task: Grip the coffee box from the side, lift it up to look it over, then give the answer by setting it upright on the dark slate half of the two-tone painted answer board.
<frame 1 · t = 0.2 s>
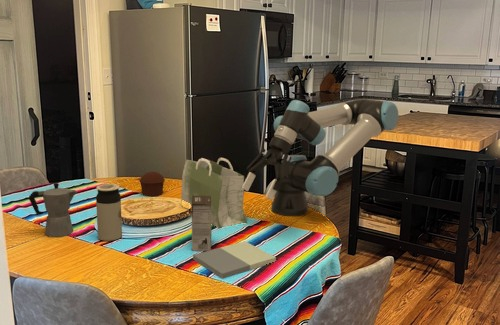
hand: (256, 193, 168), 15 cm above the table, tool tilted 35°, fingers open, 13 cm apart
coffeepot: (56, 233, 168), on the table
muffin: (152, 194, 217), on the table
grocery bag: (213, 215, 192), on the table
answer board: (234, 260, 149), on the table
coffee box: (201, 246, 160), on the table
travel mug: (110, 237, 165), on the table
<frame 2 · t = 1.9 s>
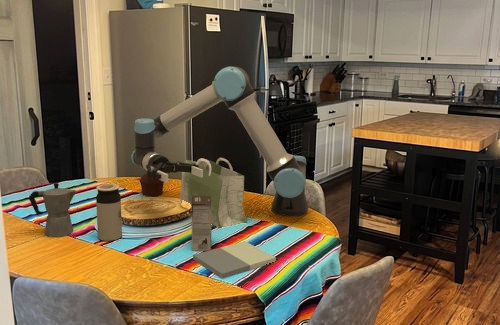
hand: (185, 176, 163), 22 cm above the table, tool horizontal, fingers open, 13 cm apart
nothing on the table moved.
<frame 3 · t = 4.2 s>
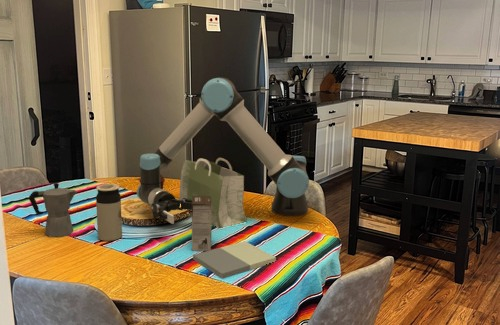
hand: (191, 216, 162), 9 cm above the table, tool horizontal, fingers open, 13 cm apart
nothing on the table moved.
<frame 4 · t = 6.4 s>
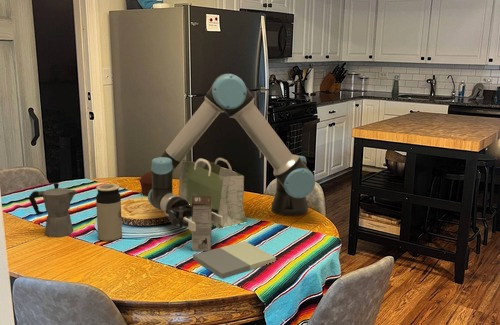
hand: (208, 224, 154), 9 cm above the table, tool horizontal, fingers closed on coffee box, 10 cm apart
coffee box: (201, 246, 160), on the table, touching gripper
everything else where it was.
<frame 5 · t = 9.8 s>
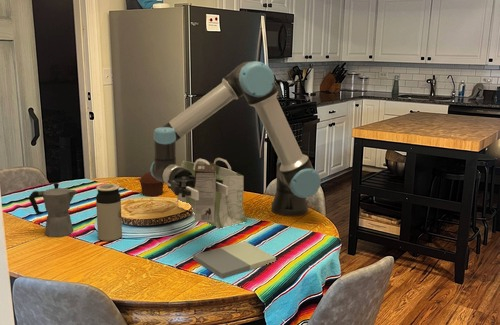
hand: (212, 193, 146), 21 cm above the table, tool horizontal, fingers closed on coffee box, 10 cm apart
coffee box: (205, 217, 151), point 12 cm above the table, touching gripper
when the fingers open (11 cm above the table, at t = 13.3 s): coffee box drops 1 cm, resting on answer board.
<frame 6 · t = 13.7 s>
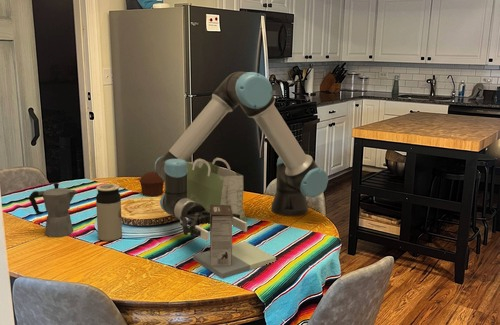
hand: (227, 231, 141), 11 cm above the table, tool horizontal, fingers open, 13 cm apart
coffee box: (220, 260, 145), point 1 cm above the table, touching answer board
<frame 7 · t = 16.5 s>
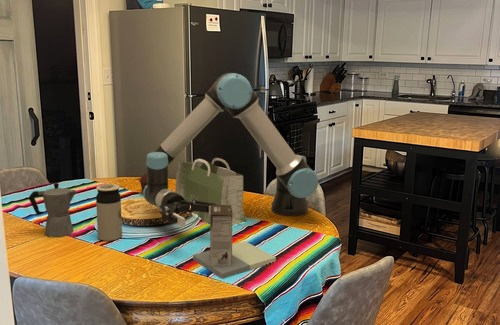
hand: (203, 219, 151), 12 cm above the table, tool horizontal, fingers open, 13 cm apart
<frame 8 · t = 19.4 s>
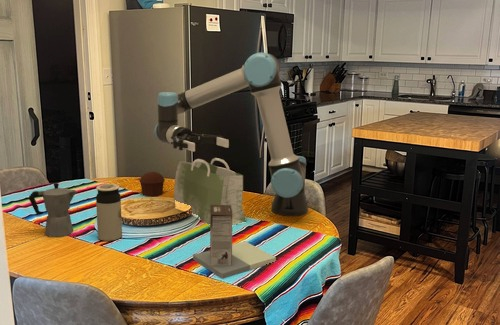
hand: (211, 145, 163), 32 cm above the table, tool horizontal, fingers open, 13 cm apart
at the end: coffee box inside the target area on the answer board (0.1 cm from its centre), point 1.3 cm above the answer board's base; coffee box tilted 0°; the gripper is holding nothing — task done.
